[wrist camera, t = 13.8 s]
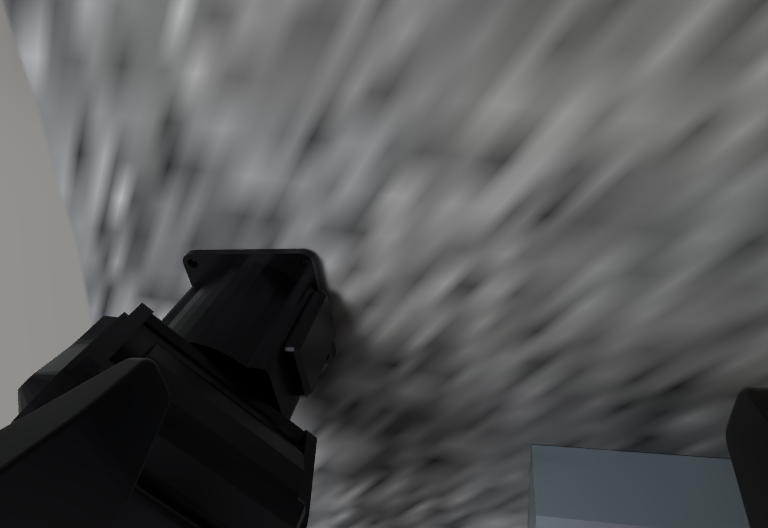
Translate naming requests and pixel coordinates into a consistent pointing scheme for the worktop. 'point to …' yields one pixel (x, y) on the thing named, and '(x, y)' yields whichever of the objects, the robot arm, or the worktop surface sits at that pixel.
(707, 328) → the worktop surface
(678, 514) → the bin
